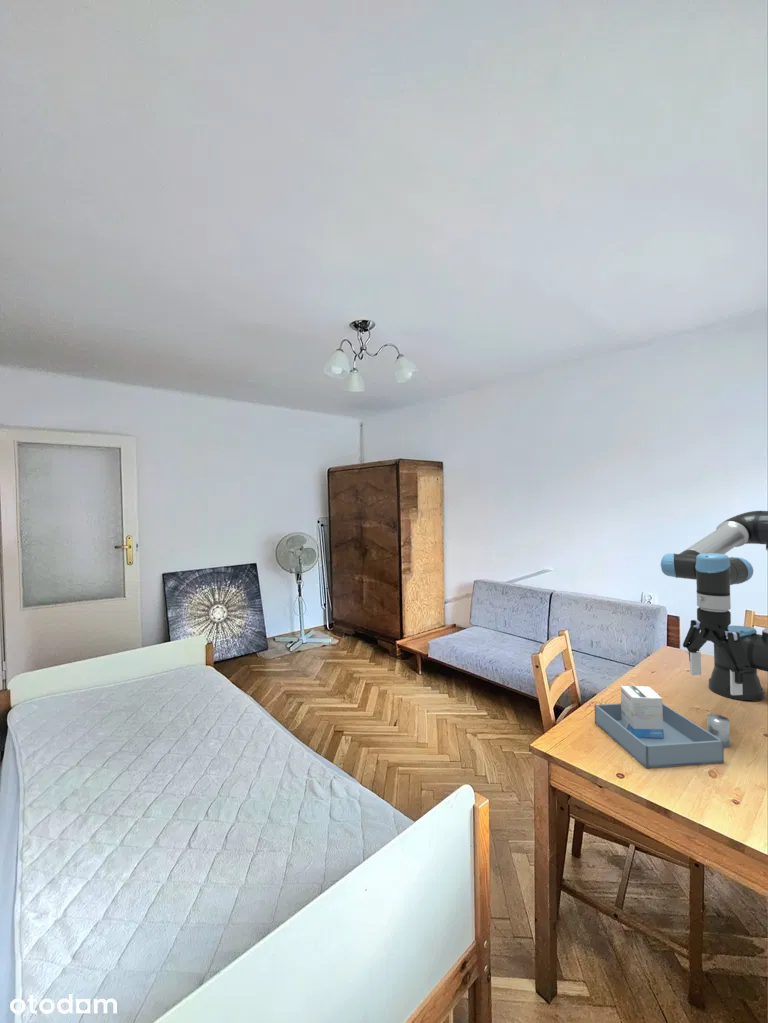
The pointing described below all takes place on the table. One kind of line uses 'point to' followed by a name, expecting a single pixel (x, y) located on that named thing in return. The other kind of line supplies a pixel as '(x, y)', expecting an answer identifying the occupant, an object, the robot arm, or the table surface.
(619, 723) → the tote
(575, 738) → the table surface
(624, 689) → the ink box
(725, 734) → the tin
